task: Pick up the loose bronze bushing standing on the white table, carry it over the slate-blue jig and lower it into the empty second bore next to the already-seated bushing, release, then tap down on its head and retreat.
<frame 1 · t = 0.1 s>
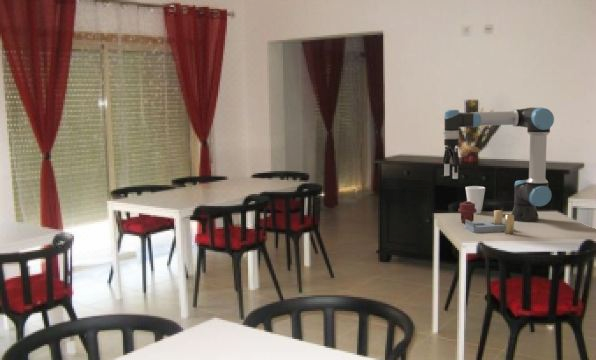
hand: (450, 177, 343), 28 cm above the table, fingers open, 13 cm apart
jig: (489, 229, 339), on the table
bushing: (509, 233, 327), on the table
mechanical component: (467, 223, 357), on the table
cup: (474, 213, 387), on the table
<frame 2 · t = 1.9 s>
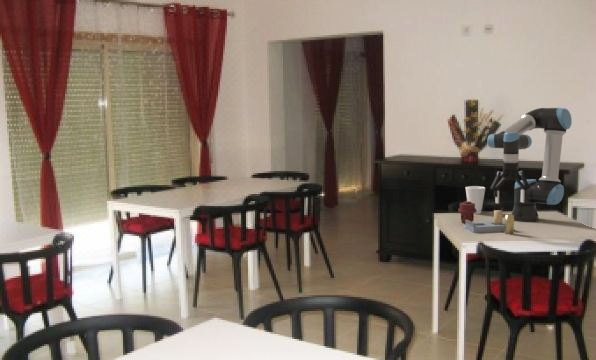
hand: (509, 202, 325), 16 cm above the table, fingers open, 13 cm apart
nothing on the table moved.
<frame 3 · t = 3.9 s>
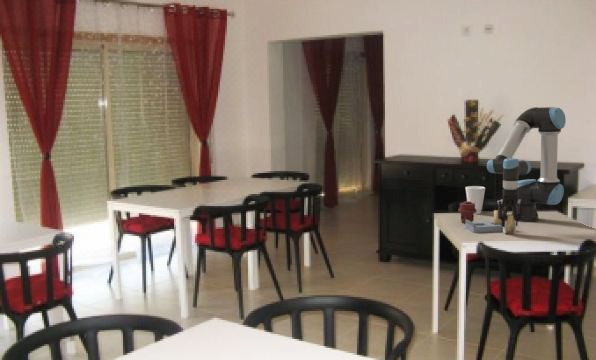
hand: (509, 232, 327), 1 cm above the table, fingers closed on bushing, 4 cm apart
bushing: (509, 233, 327), on the table, touching gripper
everything else where it was.
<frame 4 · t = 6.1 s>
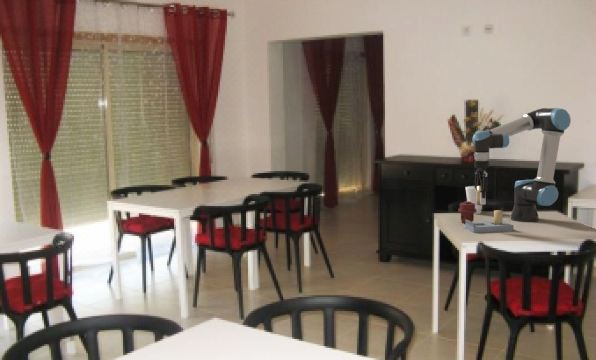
hand: (480, 203, 336), 15 cm above the table, fingers closed on bushing, 4 cm apart
bushing: (480, 204, 336), point 14 cm above the table, touching gripper
everything else where it was.
when the fingers open (4 cm above the table, at t = 8.3 s): bushing drops 2 cm, resting in jig.
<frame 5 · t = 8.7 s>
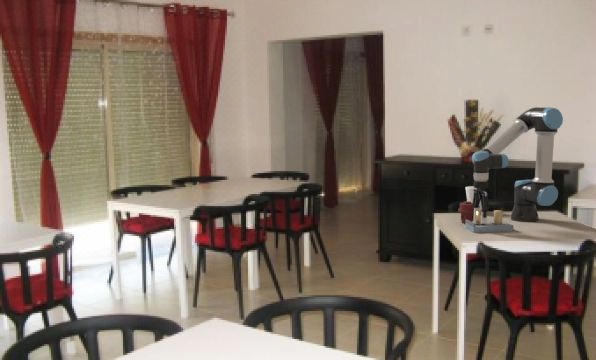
hand: (480, 221, 337), 5 cm above the table, fingers open, 9 cm apart
bushing: (480, 229, 338), resting in jig
everything else where it was.
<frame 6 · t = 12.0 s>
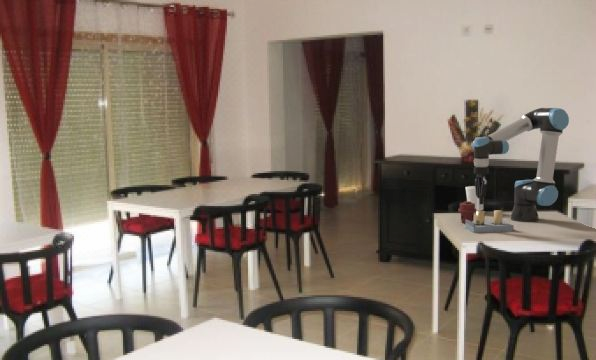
hand: (480, 209, 337), 11 cm above the table, fingers closed
nothing on the table moved.
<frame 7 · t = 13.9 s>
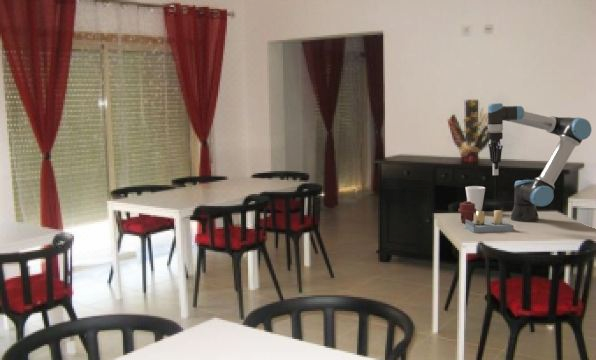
hand: (495, 174, 344), 29 cm above the table, fingers closed
nothing on the table moved.
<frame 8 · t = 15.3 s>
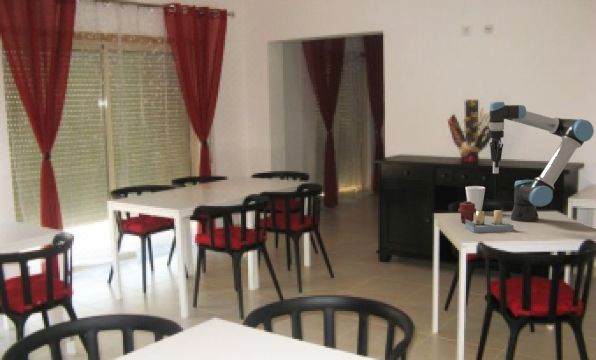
hand: (495, 173, 344), 29 cm above the table, fingers closed
nothing on the table moved.
at the end: bushing 0.1 cm from the target spot on the jig, point 0.0 cm above the jig's base; bushing tilted 0°; the gripper is holding nothing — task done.
